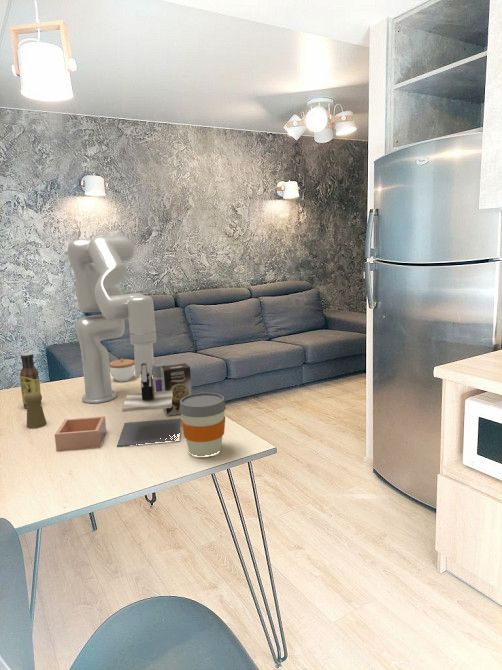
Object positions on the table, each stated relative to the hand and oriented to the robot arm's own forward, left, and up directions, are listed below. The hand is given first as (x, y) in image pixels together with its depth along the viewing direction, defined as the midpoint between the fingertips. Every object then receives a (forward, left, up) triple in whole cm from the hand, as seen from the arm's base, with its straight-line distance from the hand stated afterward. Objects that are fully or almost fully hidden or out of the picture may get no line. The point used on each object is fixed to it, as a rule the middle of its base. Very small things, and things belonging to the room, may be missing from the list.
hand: (148, 396), depth 148 cm
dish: (+2, -20, -12) cm, 23 cm away
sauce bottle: (-35, -45, -12) cm, 58 cm away
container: (-25, +2, -12) cm, 28 cm away
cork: (-15, -38, -12) cm, 43 cm away
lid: (0, 0, -2) cm, 2 cm away
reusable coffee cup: (+17, +16, -12) cm, 26 cm away
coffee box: (-17, +8, -12) cm, 22 cm away
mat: (0, 0, -12) cm, 12 cm away
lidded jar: (-63, -16, -12) cm, 66 cm away
